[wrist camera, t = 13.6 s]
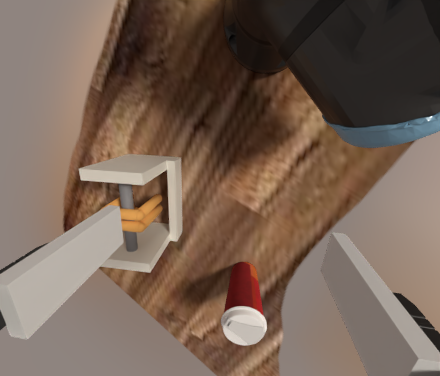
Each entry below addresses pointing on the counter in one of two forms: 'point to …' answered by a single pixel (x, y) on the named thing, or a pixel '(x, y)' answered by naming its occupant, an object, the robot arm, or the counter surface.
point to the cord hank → (139, 214)
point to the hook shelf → (156, 232)
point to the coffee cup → (243, 307)
